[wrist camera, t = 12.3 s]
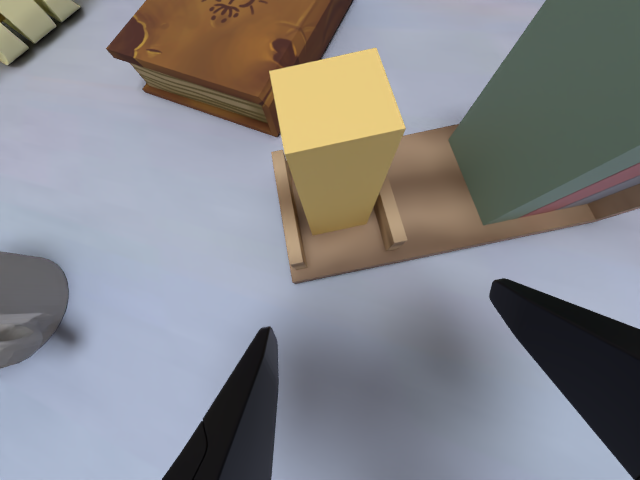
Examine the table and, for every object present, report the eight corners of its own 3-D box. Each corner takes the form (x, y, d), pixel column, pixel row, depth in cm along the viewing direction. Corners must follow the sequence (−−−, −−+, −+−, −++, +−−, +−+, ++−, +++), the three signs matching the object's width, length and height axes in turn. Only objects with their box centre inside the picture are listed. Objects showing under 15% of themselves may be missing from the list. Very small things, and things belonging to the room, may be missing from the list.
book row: (587, 203, 20) (1099, 5, 7) (483, 225, 20) (780, 73, 7) (541, 120, 23) (850, -151, 9) (448, 139, 23) (616, -101, 9)
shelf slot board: (594, 221, 21) (1216, 31, 6) (295, 283, 21) (204, 243, 6) (536, 116, 24) (856, -178, 9) (276, 171, 25) (186, -30, 10)
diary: (280, 142, 26) (265, 99, 21) (149, 96, 29) (105, 49, 24) (354, 3, 31) (359, -62, 25) (235, -24, 34) (215, -88, 28)
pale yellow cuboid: (366, 224, 21) (405, 128, 9) (312, 235, 21) (284, 154, 9) (354, 180, 22) (376, 47, 11) (303, 191, 22) (269, 71, 11)
